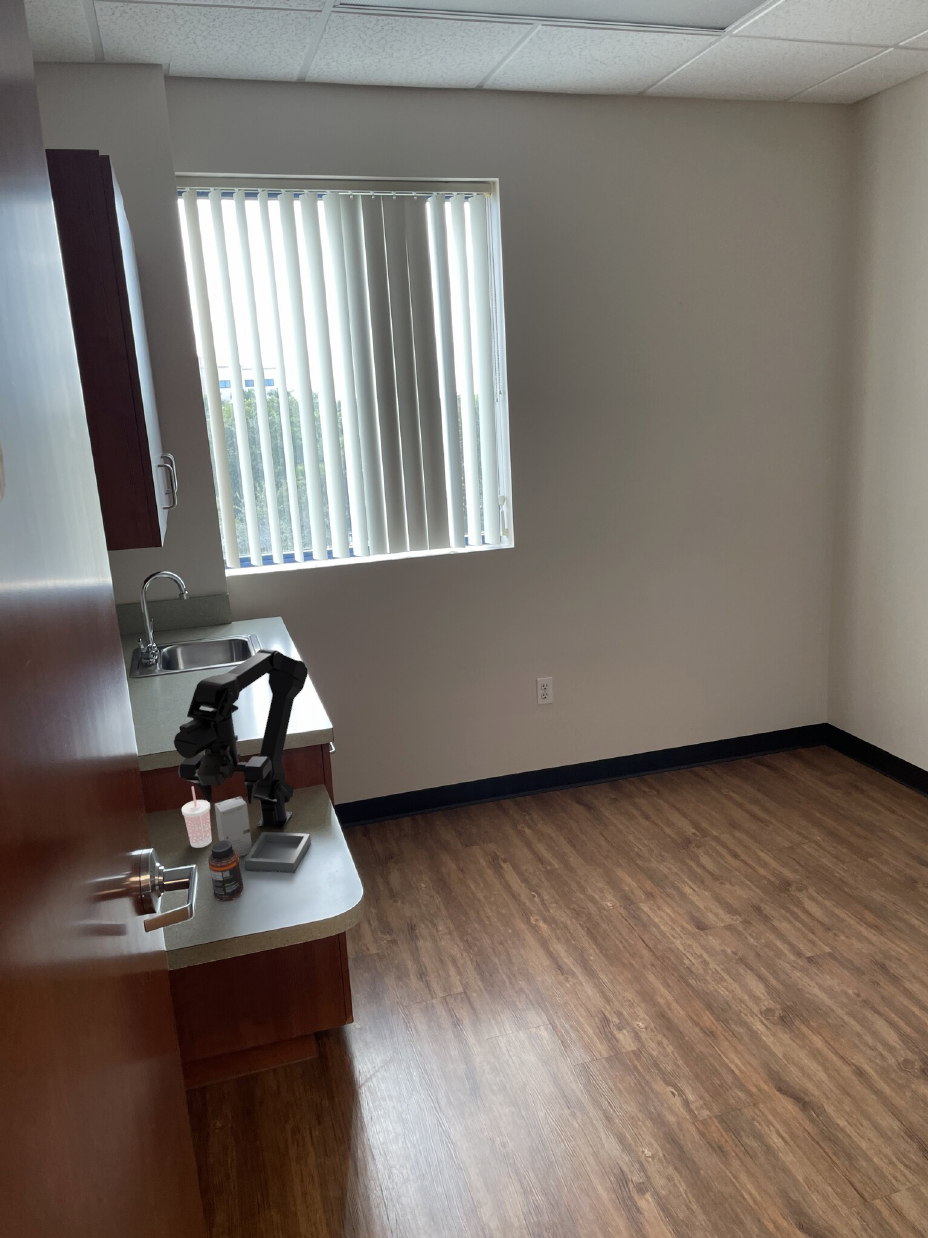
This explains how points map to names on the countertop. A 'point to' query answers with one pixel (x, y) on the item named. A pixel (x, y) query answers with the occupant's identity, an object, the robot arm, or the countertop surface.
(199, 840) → the beverage cup
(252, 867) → the tray
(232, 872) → the supplement bottle
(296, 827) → the countertop surface
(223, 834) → the skincare box
